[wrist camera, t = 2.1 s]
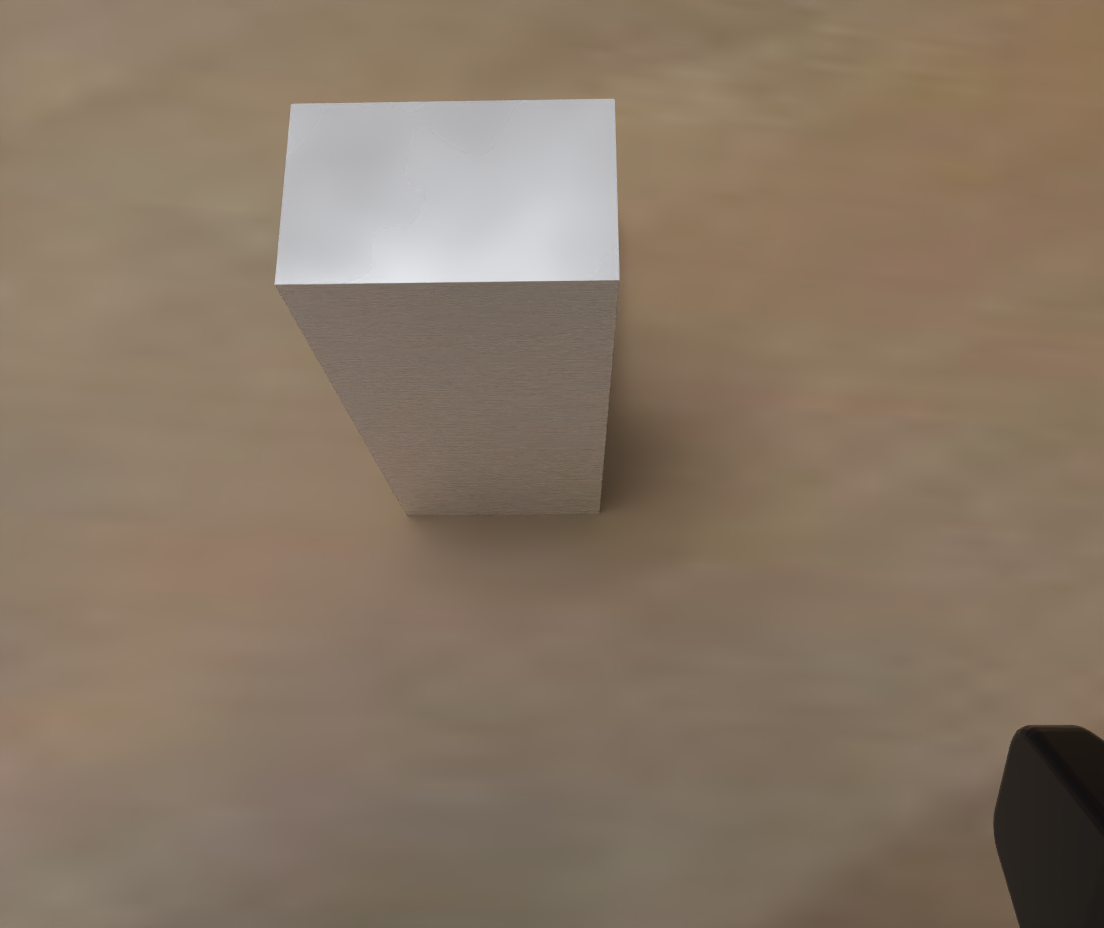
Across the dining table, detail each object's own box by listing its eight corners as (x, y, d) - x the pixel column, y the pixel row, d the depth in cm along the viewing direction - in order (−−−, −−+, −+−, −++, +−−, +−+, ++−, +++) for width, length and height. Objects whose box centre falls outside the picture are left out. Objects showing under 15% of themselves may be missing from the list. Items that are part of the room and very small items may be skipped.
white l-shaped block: (599, 513, 21) (619, 280, 12) (406, 515, 22) (274, 284, 12) (593, 218, 24) (606, -177, 14) (418, 221, 24) (316, -171, 14)
